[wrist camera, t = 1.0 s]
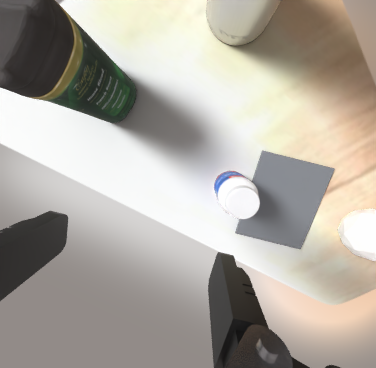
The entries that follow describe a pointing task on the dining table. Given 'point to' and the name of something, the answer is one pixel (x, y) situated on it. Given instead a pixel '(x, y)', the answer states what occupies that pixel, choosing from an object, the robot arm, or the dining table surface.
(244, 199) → the pill bottle
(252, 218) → the mat
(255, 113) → the dining table surface
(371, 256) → the geometric ball
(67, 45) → the coffee jar
